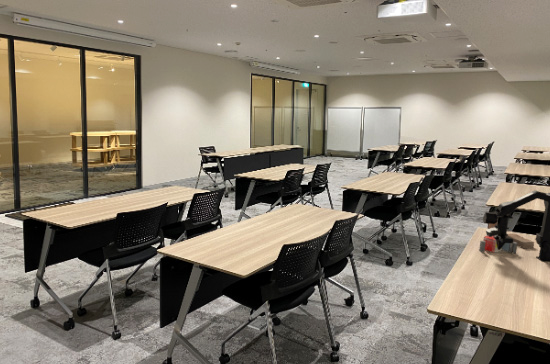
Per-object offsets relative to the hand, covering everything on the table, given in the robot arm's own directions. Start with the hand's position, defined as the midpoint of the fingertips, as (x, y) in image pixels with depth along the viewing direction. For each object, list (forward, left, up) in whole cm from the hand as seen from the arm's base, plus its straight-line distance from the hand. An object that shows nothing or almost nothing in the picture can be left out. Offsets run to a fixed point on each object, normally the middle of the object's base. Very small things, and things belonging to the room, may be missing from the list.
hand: (498, 249), depth 255 cm
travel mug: (+23, -8, -4) cm, 25 cm away
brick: (+23, -25, -4) cm, 34 cm away
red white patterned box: (+10, -1, -4) cm, 10 cm away
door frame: (+5, -3, -3) cm, 7 cm away
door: (+11, -5, -3) cm, 12 cm away
